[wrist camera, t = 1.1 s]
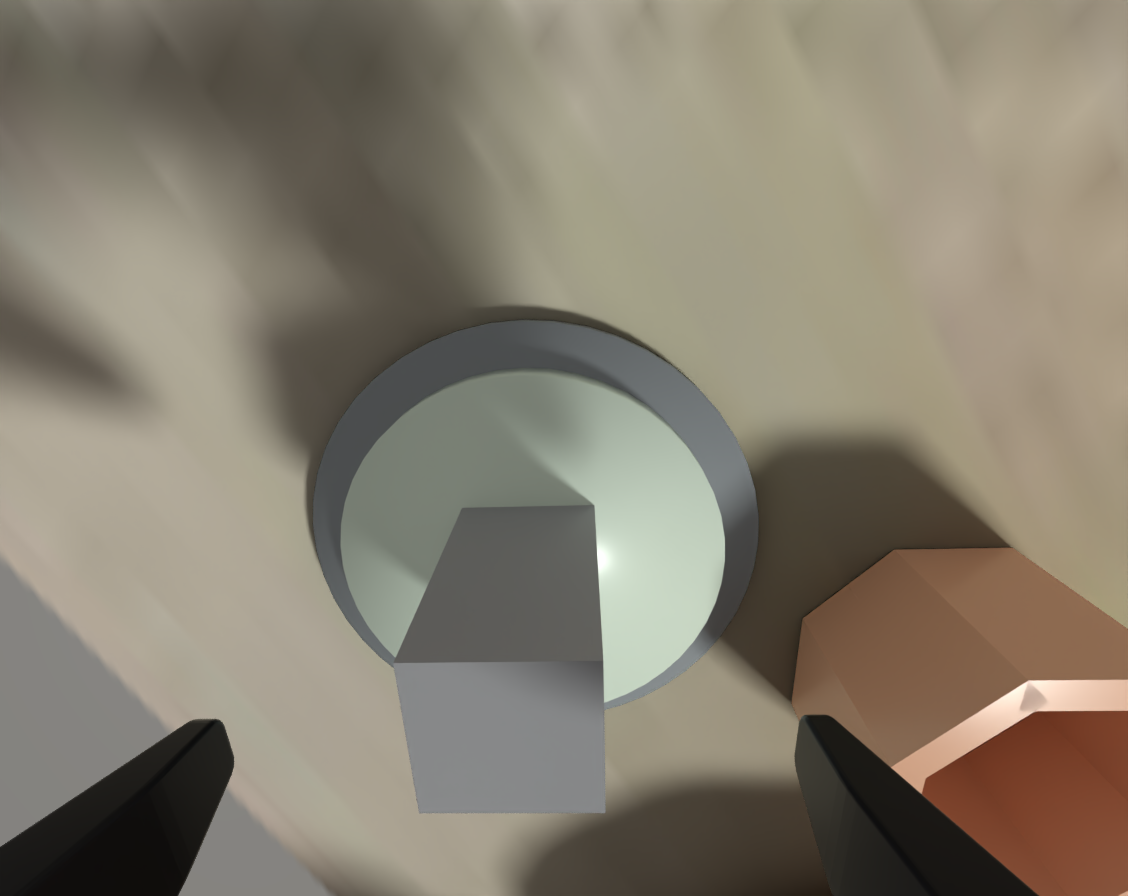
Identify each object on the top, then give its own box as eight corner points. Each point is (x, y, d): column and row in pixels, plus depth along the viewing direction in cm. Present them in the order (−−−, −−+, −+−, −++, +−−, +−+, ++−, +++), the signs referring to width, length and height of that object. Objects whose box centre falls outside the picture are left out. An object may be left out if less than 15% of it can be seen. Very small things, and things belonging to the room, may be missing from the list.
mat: (737, 705, 16) (741, 716, 16) (357, 708, 16) (352, 719, 16) (773, 311, 12) (779, 313, 12) (278, 327, 13) (269, 329, 12)
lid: (707, 688, 15) (778, 935, 10) (381, 691, 16) (276, 931, 10) (729, 361, 12) (849, 457, 7) (322, 373, 13) (126, 474, 7)
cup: (1027, 756, 16) (1182, 936, 12) (784, 757, 17) (853, 933, 12) (1096, 545, 14) (1321, 677, 10) (811, 550, 14) (909, 682, 10)
